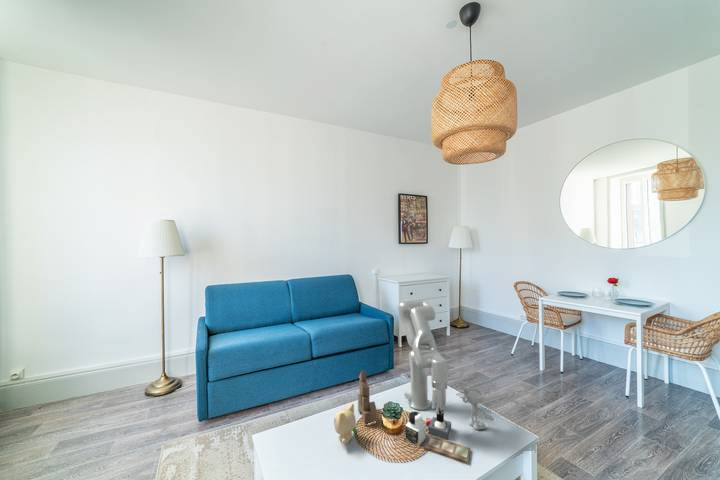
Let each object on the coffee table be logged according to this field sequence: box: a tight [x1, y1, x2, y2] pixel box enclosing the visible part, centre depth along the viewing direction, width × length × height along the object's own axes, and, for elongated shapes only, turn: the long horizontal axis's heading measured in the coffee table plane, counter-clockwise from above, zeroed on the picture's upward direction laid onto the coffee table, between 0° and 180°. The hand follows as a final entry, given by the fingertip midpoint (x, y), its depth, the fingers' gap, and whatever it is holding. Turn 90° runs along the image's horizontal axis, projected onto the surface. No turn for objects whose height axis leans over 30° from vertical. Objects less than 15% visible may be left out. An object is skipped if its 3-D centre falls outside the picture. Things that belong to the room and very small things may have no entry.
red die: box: [425, 417, 432, 428], centre depth 143 cm, size 3×3×3 cm
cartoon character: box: [455, 386, 496, 431], centre depth 141 cm, size 25×12×20 cm, turn 19°
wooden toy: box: [357, 370, 377, 424], centre depth 151 cm, size 16×7×25 cm, turn 15°
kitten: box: [333, 403, 357, 445], centre depth 134 cm, size 15×10×15 cm
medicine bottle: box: [404, 411, 427, 447], centre depth 133 cm, size 7×7×12 cm
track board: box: [425, 434, 472, 465], centre depth 126 cm, size 18×9×1 cm, turn 61°
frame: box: [421, 433, 430, 449], centre depth 133 cm, size 11×11×1 cm
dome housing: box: [428, 416, 452, 441], centre depth 138 cm, size 9×9×4 cm
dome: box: [434, 421, 446, 430], centre depth 138 cm, size 5×5×5 cm
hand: (440, 420), depth 138 cm, fingers closed
